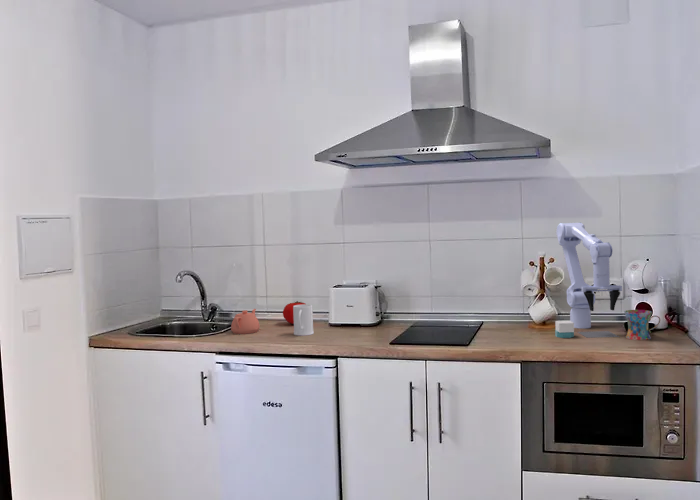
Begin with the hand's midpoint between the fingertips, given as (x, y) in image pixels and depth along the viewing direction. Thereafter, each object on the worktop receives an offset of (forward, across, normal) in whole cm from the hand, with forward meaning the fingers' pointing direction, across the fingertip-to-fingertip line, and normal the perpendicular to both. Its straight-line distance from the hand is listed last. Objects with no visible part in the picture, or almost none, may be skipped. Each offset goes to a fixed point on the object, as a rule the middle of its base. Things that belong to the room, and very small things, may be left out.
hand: (601, 310), depth 249 cm
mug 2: (+10, +11, -10) cm, 18 cm away
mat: (+10, -2, -1) cm, 10 cm away
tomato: (+10, -123, +49) cm, 133 cm away
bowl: (+10, -15, -3) cm, 18 cm away
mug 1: (+10, -117, +21) cm, 119 cm away
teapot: (+10, -143, +32) cm, 147 cm away
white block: (+7, -15, -3) cm, 17 cm away
